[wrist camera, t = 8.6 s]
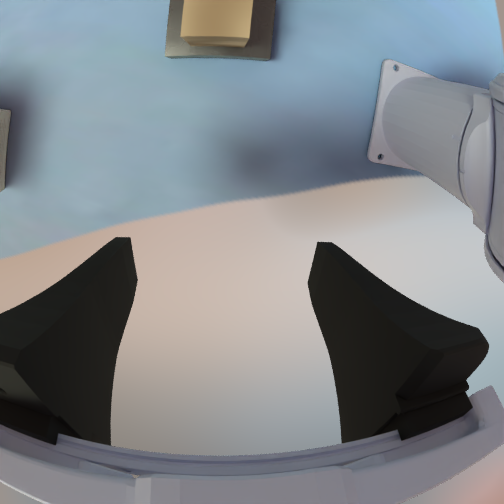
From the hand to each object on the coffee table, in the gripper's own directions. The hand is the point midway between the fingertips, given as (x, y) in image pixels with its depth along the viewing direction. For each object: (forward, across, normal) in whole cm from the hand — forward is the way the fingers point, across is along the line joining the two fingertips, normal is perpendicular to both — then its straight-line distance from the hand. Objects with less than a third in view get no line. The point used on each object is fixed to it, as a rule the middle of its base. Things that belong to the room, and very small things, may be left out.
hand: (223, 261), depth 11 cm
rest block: (+10, +1, -10) cm, 15 cm away
